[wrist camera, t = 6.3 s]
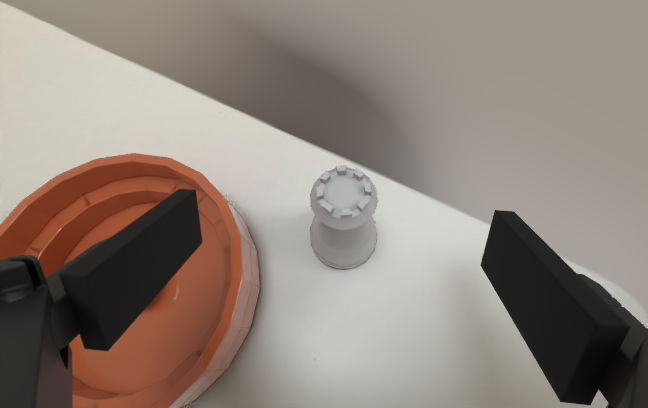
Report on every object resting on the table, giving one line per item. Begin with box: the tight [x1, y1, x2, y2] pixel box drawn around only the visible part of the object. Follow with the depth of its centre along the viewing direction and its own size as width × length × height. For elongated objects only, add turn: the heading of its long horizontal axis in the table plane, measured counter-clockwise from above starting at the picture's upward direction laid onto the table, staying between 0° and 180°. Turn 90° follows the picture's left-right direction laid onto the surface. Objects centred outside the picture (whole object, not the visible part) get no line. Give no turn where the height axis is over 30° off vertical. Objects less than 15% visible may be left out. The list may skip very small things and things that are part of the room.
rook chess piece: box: [310, 165, 378, 269], centre depth 19 cm, size 4×4×8 cm
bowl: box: [0, 153, 260, 408], centre depth 20 cm, size 15×15×4 cm
